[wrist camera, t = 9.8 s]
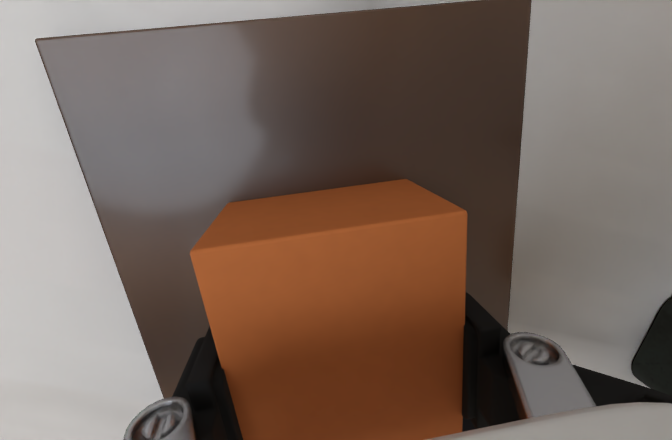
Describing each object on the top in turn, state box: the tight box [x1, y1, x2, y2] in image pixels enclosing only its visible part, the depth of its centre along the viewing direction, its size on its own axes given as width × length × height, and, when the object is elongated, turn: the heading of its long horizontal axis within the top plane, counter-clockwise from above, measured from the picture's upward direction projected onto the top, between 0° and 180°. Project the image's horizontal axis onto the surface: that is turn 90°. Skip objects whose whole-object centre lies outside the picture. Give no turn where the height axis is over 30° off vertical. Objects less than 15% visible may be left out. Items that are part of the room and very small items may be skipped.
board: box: [35, 0, 531, 399], centre depth 13 cm, size 24×14×1 cm, turn 6°
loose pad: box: [190, 179, 467, 440], centre depth 10 cm, size 9×6×4 cm, turn 6°
